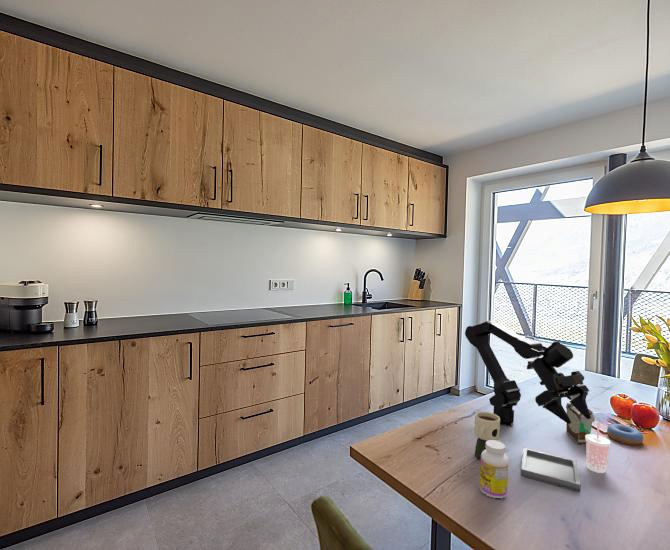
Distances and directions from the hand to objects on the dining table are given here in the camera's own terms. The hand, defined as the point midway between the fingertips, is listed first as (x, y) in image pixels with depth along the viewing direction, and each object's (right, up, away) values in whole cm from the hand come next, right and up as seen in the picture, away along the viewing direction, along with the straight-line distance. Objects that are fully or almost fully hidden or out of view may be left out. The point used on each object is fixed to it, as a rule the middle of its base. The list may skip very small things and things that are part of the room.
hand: (579, 421), depth 114 cm
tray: (-13, -12, -6) cm, 19 cm away
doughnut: (+25, -12, +15) cm, 32 cm away
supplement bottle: (-34, -12, -16) cm, 39 cm away
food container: (+10, -12, +14) cm, 21 cm away
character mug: (-29, -12, 0) cm, 31 cm away
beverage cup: (+2, -13, -4) cm, 13 cm away
